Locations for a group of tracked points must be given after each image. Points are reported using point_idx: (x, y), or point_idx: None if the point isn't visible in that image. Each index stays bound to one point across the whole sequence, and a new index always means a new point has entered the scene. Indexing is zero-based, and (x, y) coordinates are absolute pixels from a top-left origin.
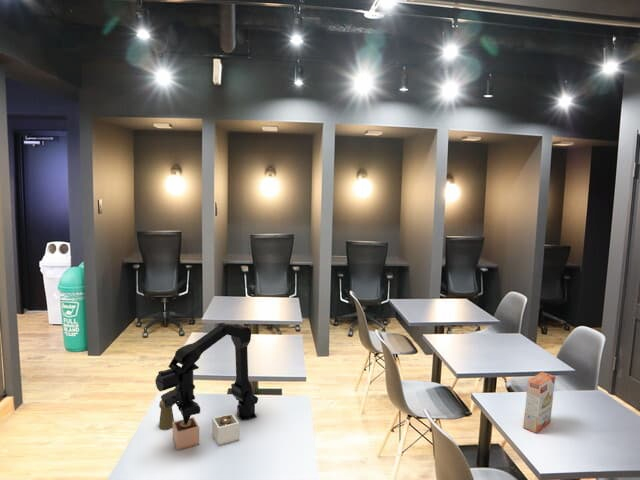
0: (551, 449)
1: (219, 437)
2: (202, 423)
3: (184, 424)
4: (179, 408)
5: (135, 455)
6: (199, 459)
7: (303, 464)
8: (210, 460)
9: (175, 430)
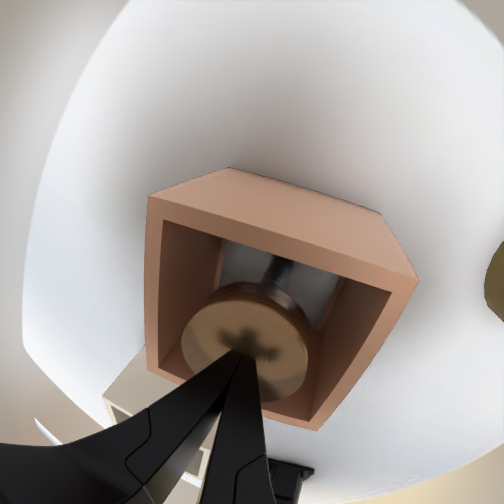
0: (55, 440)
1: (130, 364)
2: (375, 400)
3: (202, 330)
4: (2, 497)
5: None
6: (101, 222)
7: (41, 364)
8: (82, 252)
9: (244, 214)
